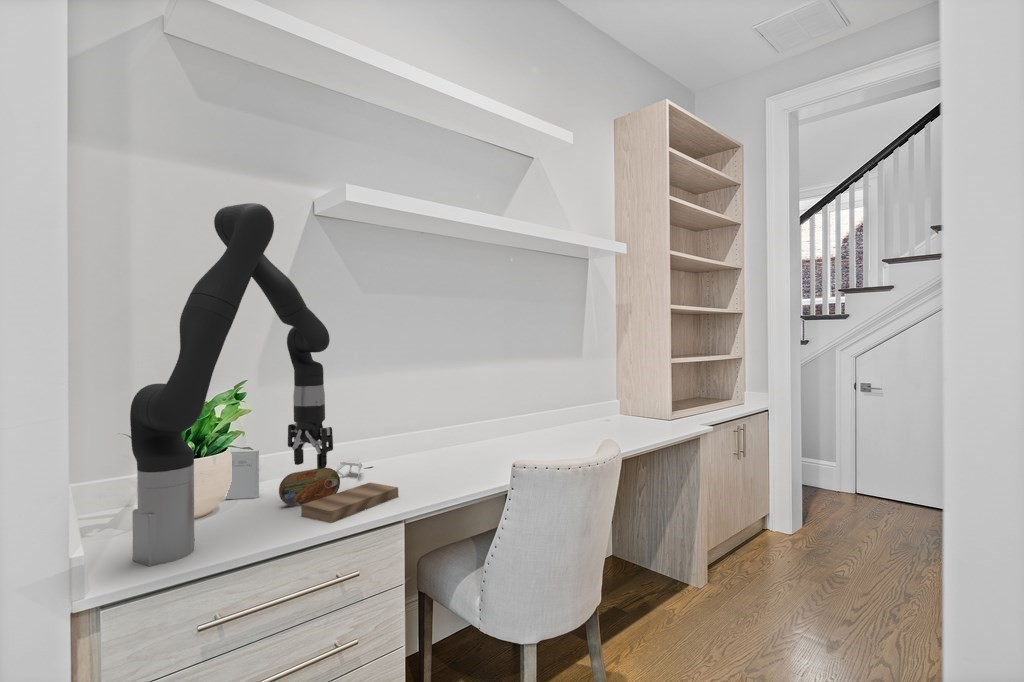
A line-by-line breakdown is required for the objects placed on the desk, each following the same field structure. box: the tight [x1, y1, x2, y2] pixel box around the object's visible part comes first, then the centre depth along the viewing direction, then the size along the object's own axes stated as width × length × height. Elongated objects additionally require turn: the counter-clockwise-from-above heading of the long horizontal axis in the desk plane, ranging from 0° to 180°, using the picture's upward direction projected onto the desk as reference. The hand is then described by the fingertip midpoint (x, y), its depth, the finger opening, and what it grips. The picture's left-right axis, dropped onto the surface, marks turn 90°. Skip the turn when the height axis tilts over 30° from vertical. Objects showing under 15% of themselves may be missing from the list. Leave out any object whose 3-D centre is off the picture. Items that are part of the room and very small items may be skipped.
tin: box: [278, 467, 341, 508], centre depth 135 cm, size 15×3×8 cm, turn 132°
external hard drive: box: [225, 449, 260, 500], centre depth 139 cm, size 2×8×12 cm, turn 96°
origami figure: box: [334, 457, 363, 480], centre depth 159 cm, size 12×8×5 cm
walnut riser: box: [300, 482, 399, 524], centre depth 131 cm, size 22×10×3 cm, turn 150°
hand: (310, 466), depth 135 cm, fingers open, 8 cm apart
